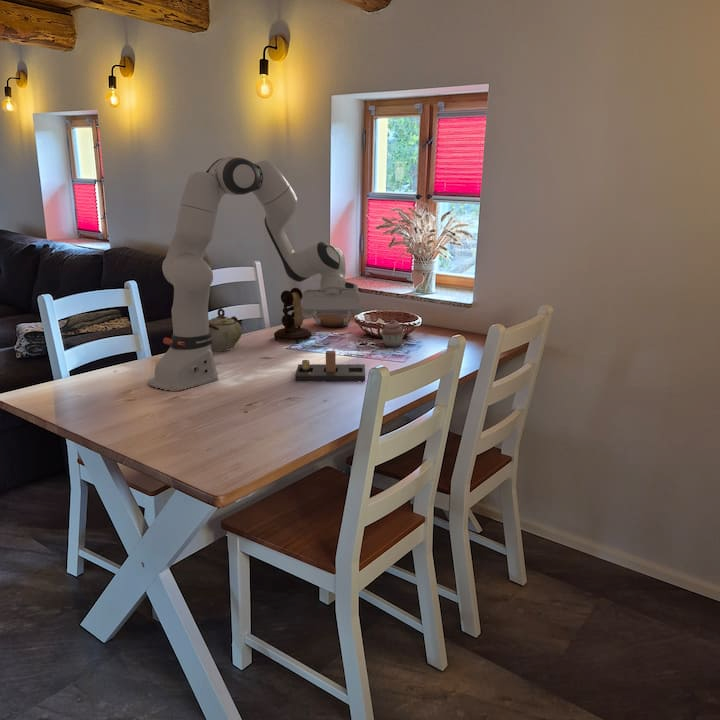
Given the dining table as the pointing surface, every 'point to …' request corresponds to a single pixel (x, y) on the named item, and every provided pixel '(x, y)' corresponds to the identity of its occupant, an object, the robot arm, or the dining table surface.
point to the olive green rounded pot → (224, 331)
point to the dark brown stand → (292, 317)
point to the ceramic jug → (332, 320)
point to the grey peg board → (319, 372)
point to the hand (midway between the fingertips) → (331, 323)
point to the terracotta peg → (330, 361)
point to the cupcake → (392, 334)
